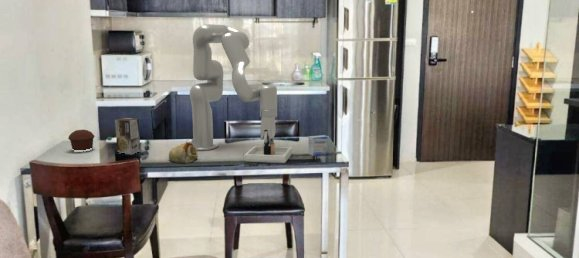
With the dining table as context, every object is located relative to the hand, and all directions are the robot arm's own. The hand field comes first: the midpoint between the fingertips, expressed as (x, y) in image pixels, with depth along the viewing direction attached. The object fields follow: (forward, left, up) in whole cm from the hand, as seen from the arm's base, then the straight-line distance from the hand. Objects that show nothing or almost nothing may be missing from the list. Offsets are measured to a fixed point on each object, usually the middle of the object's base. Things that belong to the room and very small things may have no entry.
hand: (268, 152), depth 227 cm
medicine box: (+21, +10, -2) cm, 23 cm away
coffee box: (-67, -2, -2) cm, 67 cm away
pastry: (-36, -11, -3) cm, 38 cm away
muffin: (-91, -2, -2) cm, 91 cm away
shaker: (0, 0, -1) cm, 1 cm away
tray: (0, 0, -2) cm, 2 cm away
